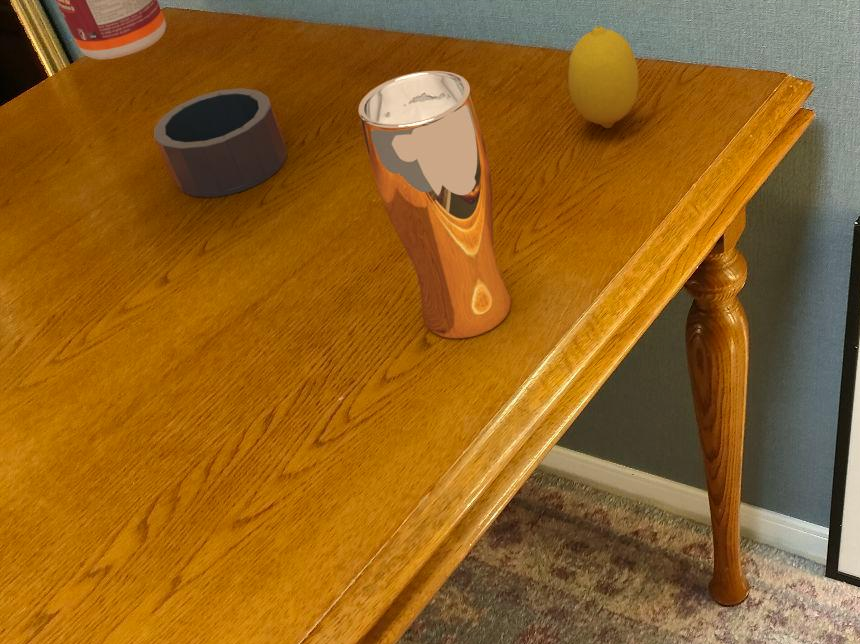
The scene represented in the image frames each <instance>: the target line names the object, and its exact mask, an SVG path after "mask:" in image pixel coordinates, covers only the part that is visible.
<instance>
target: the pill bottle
mask: <svg viewBox="0 0 860 644" xmlns="http://www.w3.org/2000/svg"><path fill="white" fill-rule="evenodd" d="M55 3H56V5H57V7H58V9H59V11H60V13H61V15H62V17H63V19H64V21H65V24H66V25H67V28H68V29H69V31H70V33H71V36H72V37H73V39H74V41H75V44H76V46H77V47H78V49H79V50H80V52H81V53H82V54H83V55H85V57H88V58H90V59H93V60H98V61H99V60H100V61H101V60H113V59H114V60H115V59H118V58H123V57H126V56H130V55H132V54H135V53H138V52H141V51H143V50H145V49H147V48H149V47H151V46H153V45H154V44H155V43H157V42H158V41H159V40H161V38H162V37H163V35H164V34H165V32H166V28H167V21H166V19H165V16H164V13H163V11H162V9H161V7H160V3H159V2H158V0H55Z"/></svg>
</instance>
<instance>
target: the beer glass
mask: <svg viewBox="0 0 860 644" xmlns="http://www.w3.org/2000/svg"><path fill="white" fill-rule="evenodd" d="M358 116H359V118H360V122H361V125H362V131H363V136H364V142H365V146H366V150H367V155H368V159H369V163H370V167H371V170H372V175H373V178H374V182H375V185H376V189H377V191H378V194H379V197H380V200H381V203H382V204H383V206H384V209H385V210H386V213H387V215H388V219H389V220H390V222H391V224H392V226H393V229H394V230H395V232H396V234H397V236H398V238H399V240H400V242H401V244H402V246H403V248H404V250H405V252H406V254H407V256H408V258H409V260H410V262H411V264H412V266H413V268H414V272H415V274H416V277H417V281H418V286H419V290H420V300H421V301H420V302H421V313H422V319H423V322H424V324H425V327H426V328H427V329H428V330H429V331H430V332H431V333H433V334H435V335H436V336H439V337H442V338H447V339H458V340H459V339H467V338H468V339H469V338H473V337H477V336H481V335H483V334H485V333H487V332H489V331H491V330H493V329H495V328H496V327H497V326H499V325H500V324H501V323H502V322H503V321H504V320H505V319H506V317H507V316H508V314H509V312H510V311H511V304H512V303H511V297H510V294H509V291H508V289H507V285H506V283H505V282H504V280H503V278H502V275H501V273H500V270H499V267H498V263H497V260H496V259H497V258H496V254H495V247H494V216H493V215H494V214H493V189H492V187H493V186H492V174H491V167H490V163H489V158H488V157H489V156H488V151H487V146H486V142H485V138H484V133H483V130H482V126H481V123H480V119H479V117H478V112H477V110H476V107H475V103H474V99H473V96H472V93H471V86H470V83H469V82H468V81H467V79H465V77H463V76H461V75H460V74H457V73H455V72H449V71H445V70H443V71H442V70H425V71H416V72H412V73H408V74H404V75H400V76H397V77H394V78H392V79H389V80H387V81H385V82H383V83H381V84H379V85H377V86H376V87H373V89H371V90H370V91H368V92H367V94H365V96H364V97H363V98H362V99H361V101H360V103H359V105H358Z"/></svg>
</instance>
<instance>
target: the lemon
mask: <svg viewBox="0 0 860 644" xmlns="http://www.w3.org/2000/svg"><path fill="white" fill-rule="evenodd" d="M568 64H569V65H568V72H567V73H568V74H567V78H568V79H567V80H568V82H567V83H568V90H569V94H570V97H571V98H570V99H571V100H572V103H573V105H574V107H575V108H576V109H575V110H577V112H578V113H579V115H581V116H582V117H583V118H584V119H585V120H586V121H589V122H591V123H593V124H596V125H600V126H602V127H603V128H604V129H611V128H612V127H613V126H614V125H615V123H617V122H619V121H621V120H622V119H624V118H625V117H626V116H627V115H628V114H629V113H630V111H631V110H632V108H633V107H634V105H635V103H636V100H637V96H638V91H639V80H640V79H639V69H638V64H637V60H636V57H635V55H634V51H633V49H632V47H631V45H630V43H629V42H628V41H627V39H626V38H625V37H624V36H622V35H621V34H620V33H618V32H616V31H614V30H611V29H607V28H604V27H603V26H601V25H599V26H595V27H593V29H592V30H590V31H589V32H587V33H585V34H584V35H583V36H582V37H580V39H579V40H578V41H577V43H576V44H575V45H574V47H573V49H572V51H571V53H570V57H569V62H568Z"/></svg>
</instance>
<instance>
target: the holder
mask: <svg viewBox="0 0 860 644" xmlns="http://www.w3.org/2000/svg"><path fill="white" fill-rule="evenodd" d="M153 131H154V132H153V138H154V142H155V143H156V145H157V148H158V150H159V152H160V154H161V157H162V159H163V161H164V163H165V165H166V167H167V169H168V171H169V173H170V176H171V178H172V180H173V182H174V183H175V185H176V186H177V188H178V189H179V190H180V192H182V193H184V194H185V195H188V196H191V197H195V198H221V197H225V196H230V195H234V194H238V193H241V192H244V191H247V190H249V189H251V188H254V187H256V186H259V185H260V184H262V183H263V182H266V181H267V180H269V179H270V178H271V177H273V176H274V175H275V174H276V173H277V172H279V171H280V169H281V168H282V167H283V166H284V164H286V161H287V158H288V149H287V145H286V142H285V138H284V136H283V133H282V130H281V127H280V125H279V122H278V119H277V116H276V114H275V111H274V108H273V106H272V103H271V100H270V98H269V96H267V95H266V94H265V93H263V92H261V91H259V90H258V89H251V88H243V87H239V88H229V89H220V90H216V91H212V92H209V93H205V94H201V95H199V96H196V97H194V98H191V99H189V100H187V101H184V102H183V103H180V104H178V105H177V106H175V107H174V108H172V109H171V110H170V111H168V112H166V113H165V114H164V115H163V116H162V117H161V118H160V119H159V121H158V122H157V123H156V125H155V126H154V128H153Z"/></svg>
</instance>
